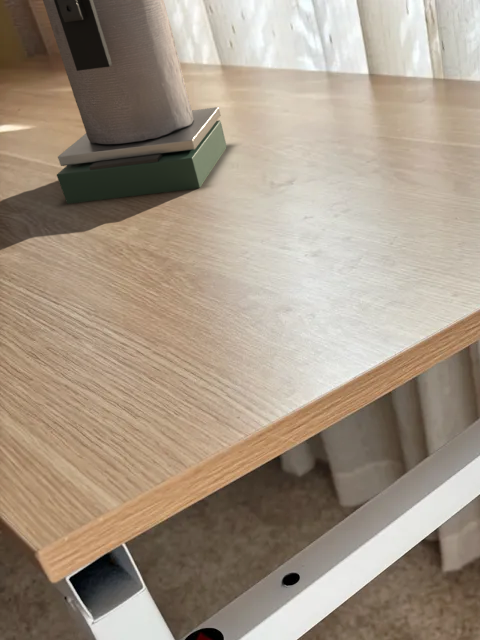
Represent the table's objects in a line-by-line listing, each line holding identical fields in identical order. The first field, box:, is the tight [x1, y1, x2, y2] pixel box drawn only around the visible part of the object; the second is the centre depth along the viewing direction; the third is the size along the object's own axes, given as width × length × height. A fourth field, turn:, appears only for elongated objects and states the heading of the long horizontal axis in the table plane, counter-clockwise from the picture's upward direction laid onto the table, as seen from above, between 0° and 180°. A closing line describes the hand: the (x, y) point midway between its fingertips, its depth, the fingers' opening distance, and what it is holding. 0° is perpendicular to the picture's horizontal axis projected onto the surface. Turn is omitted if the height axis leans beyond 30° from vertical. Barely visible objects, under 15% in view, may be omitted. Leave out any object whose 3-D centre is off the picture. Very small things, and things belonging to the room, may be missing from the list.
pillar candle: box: [42, 0, 193, 144], centre depth 69 cm, size 10×10×15 cm
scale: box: [56, 119, 228, 205], centre depth 75 cm, size 12×13×3 cm
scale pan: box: [57, 106, 222, 167], centre depth 75 cm, size 12×12×1 cm
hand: (118, 52), depth 70 cm, fingers open, 13 cm apart
